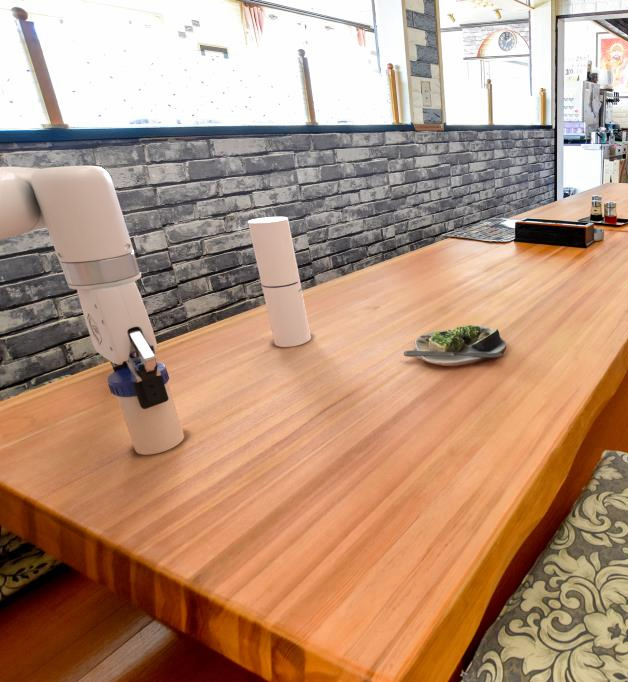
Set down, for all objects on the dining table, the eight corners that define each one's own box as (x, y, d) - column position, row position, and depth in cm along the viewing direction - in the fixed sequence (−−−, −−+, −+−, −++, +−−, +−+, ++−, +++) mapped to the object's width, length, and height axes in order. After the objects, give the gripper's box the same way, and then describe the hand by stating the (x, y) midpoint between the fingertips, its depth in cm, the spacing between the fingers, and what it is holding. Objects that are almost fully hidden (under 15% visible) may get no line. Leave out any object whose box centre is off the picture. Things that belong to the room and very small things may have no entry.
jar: (130, 458, 72) (105, 389, 68) (141, 436, 77) (118, 371, 73) (180, 448, 74) (158, 380, 70) (187, 427, 79) (167, 363, 75)
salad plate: (411, 380, 91) (408, 356, 90) (397, 343, 107) (394, 322, 105) (516, 362, 97) (516, 339, 95) (489, 330, 113) (487, 309, 111)
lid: (104, 401, 68) (99, 387, 67) (119, 380, 74) (114, 367, 73) (164, 390, 70) (159, 377, 70) (173, 371, 76) (169, 358, 75)
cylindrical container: (266, 344, 109) (239, 222, 100) (291, 332, 115) (267, 216, 106) (294, 348, 107) (268, 223, 97) (318, 336, 113) (296, 217, 103)
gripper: (46, 267, 68) (92, 390, 75) (88, 288, 58) (137, 428, 65) (114, 255, 74) (151, 371, 81) (162, 273, 64) (201, 403, 70)
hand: (144, 395), depth 73 cm, fingers closed on lid, 6 cm apart
